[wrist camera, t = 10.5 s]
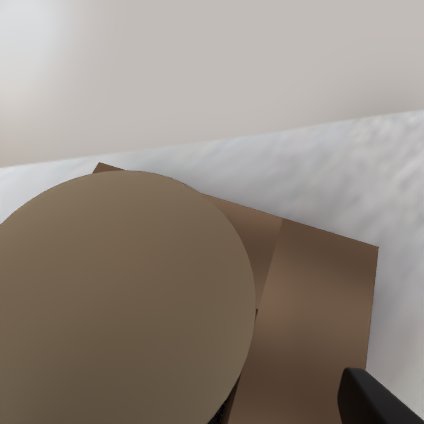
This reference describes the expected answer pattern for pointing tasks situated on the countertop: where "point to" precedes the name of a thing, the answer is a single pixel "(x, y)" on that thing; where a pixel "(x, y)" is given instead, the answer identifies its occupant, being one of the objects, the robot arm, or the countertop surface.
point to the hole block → (298, 317)
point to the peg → (121, 304)
